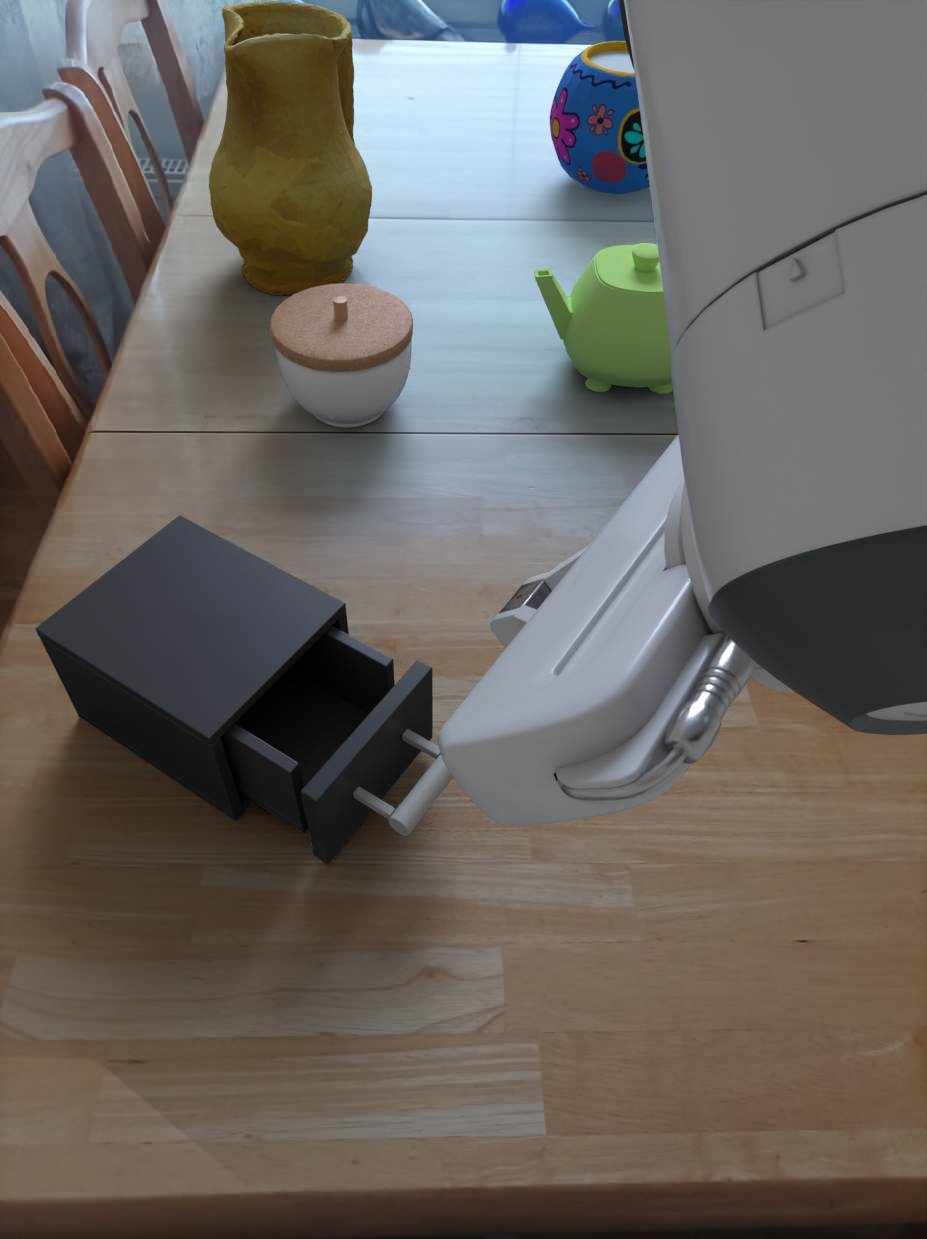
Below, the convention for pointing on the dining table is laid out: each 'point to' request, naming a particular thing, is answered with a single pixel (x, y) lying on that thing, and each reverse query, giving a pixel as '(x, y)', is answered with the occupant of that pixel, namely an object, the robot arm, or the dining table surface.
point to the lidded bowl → (343, 351)
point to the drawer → (338, 743)
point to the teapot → (615, 319)
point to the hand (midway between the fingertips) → (516, 617)
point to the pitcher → (290, 147)
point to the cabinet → (184, 650)
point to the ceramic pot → (600, 121)
